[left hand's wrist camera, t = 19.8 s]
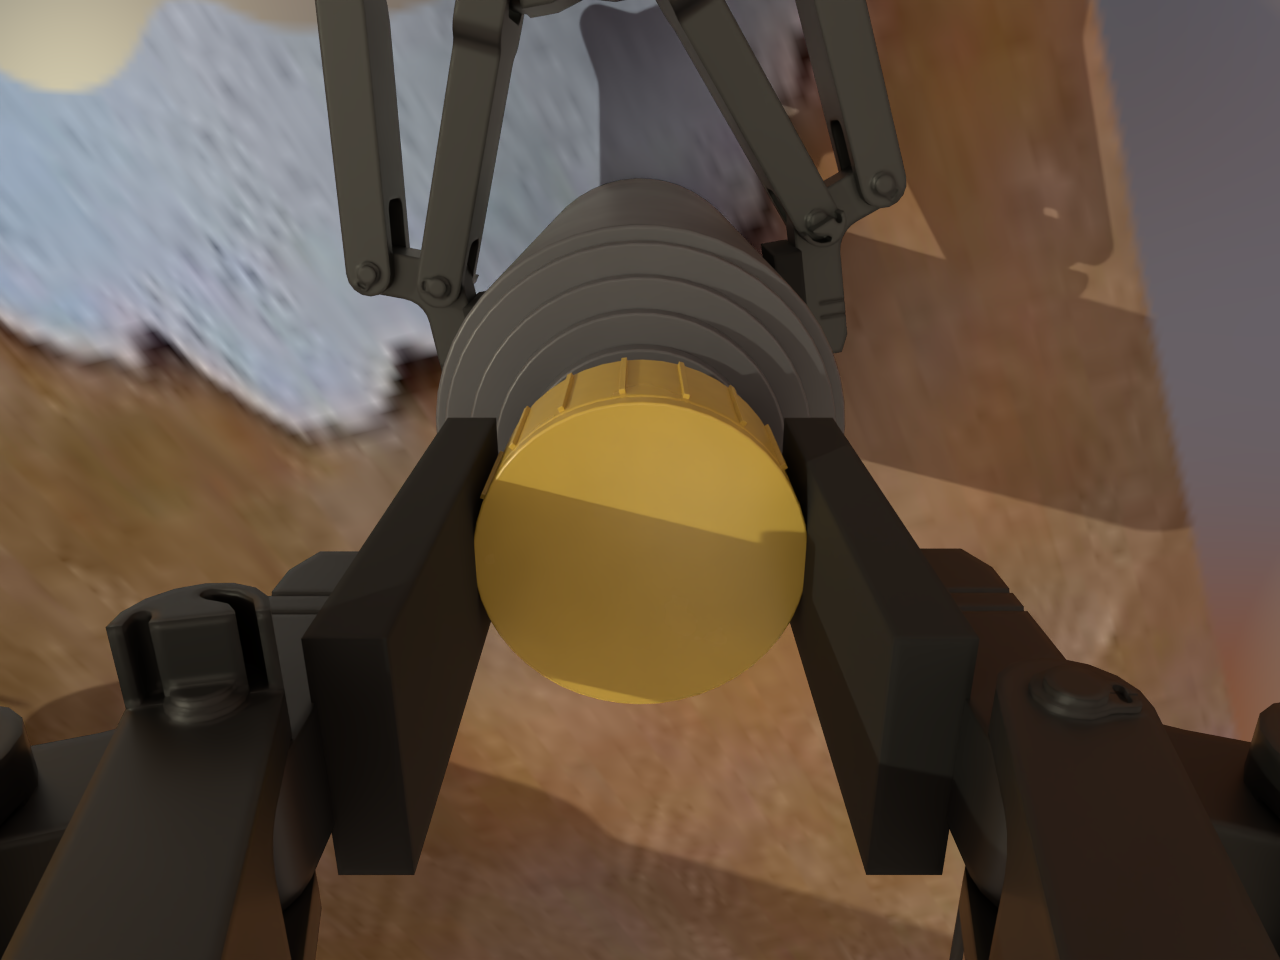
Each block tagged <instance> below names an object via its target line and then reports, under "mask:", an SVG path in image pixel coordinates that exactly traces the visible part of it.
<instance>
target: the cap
mask: <svg viewBox="0 0 1280 960" xmlns="http://www.w3.org/2000/svg"><path fill="white" fill-rule="evenodd" d="M787 468H788V467H787V465H786V462H785V460H784V458H783V455H782V453H781V451H780V449H779V446H778V444H777V442H776V439H775V437H774V435H773V433H772V430H771V428H770V426H769V425H768V424H767V425H765V426H764V424H763V423H762V421H761V420H760V418H759V417H758V416H757V414H756V413H755V412H754V411H753V410H752V408H751V407H750V406H749V405H748V404H747V403H746V402H745V401H744V400H743V399H742V398H741V397H740V396H738V395H737V393H736V391H735V388H734V387H733V386H731V385H730V386H729V387H727V386H725V385H724V384H722V383H721V382H719V381H718V380H716V379H714V378H712V377H710V376H708V375H706V374H704V373H702V372H700V371H697V370H694V369H691V368H689V367H686V366H685V365H684V363H683V362H679V363H678V364H674V363H669V362H664V361H655V360H627V357H626V358H621V361H618V362H612V363H607V364H602V365H599V366H596V367H593V368H590V369H587V370H584V371H582V372H579V373H577V374H575V375H573V374H572V373H570V374H568V375H567V377H566V379H565V380H564V381H562V382H561V383H559V384H557V385H556V386H554V387H553V388H551V389H550V390H549V391H548V392H546V393H545V394H544V395H543V396H542V397H541V398H539V399H538V400H537V401H536V402H535V403H534V404H533V405H532V406H531V408H530V407H529V406H526V408H525V409H524V411H523V413H522V416H521V418H520V421H519V423H518V425H517V426H516V428H515V429H514V431H513V433H512V435H511V437H510V439H509V441H508V443H507V445H506V447H505V450H504V452H502V451H500V452H499V454H498V457H497V459H496V461H495V463H494V466H493V468H492V470H491V473H490V475H489V477H488V480H487V482H486V484H485V486H484V489H483V491H482V493H481V496H480V498H481V499H483V502H482V505H481V508H480V511H479V515H478V518H477V521H476V527H475V533H474V548H475V562H476V575H477V587H478V591H479V594H480V598H481V601H482V603H483V605H484V608H485V610H486V612H487V614H488V616H489V618H490V620H491V622H492V623H493V625H494V627H495V628H496V630H497V631H498V633H499V635H500V636H501V637H502V638H503V640H504V641H505V642H506V643H507V645H508V646H509V647H510V648H511V649H512V651H513V652H515V653H516V654H517V655H518V656H519V657H520V658H521V659H522V660H523V661H524V662H525V663H526V664H527V665H529V666H530V667H531V668H533V669H534V670H536V671H537V672H538V673H540V674H541V675H542V676H544V677H546V678H547V679H549V680H551V681H553V682H555V683H556V684H558V685H560V686H562V687H564V688H567V689H569V690H572V691H574V692H576V693H579V694H582V695H585V696H589V697H592V698H595V699H599V700H605V701H611V702H616V703H628V704H655V703H664V702H671V701H677V700H682V699H685V698H689V697H693V696H696V695H700V694H702V693H705V692H707V691H710V690H712V689H715V688H717V687H719V686H721V685H723V684H725V683H727V682H729V681H730V680H732V679H734V678H736V677H737V676H739V675H740V674H742V673H743V672H744V671H746V670H747V669H749V668H750V667H751V666H753V665H754V664H755V663H756V662H757V661H758V660H759V659H760V658H762V657H763V656H764V655H765V654H766V653H767V652H768V651H769V650H770V648H771V647H772V646H773V645H774V644H775V643H776V641H777V640H778V639H779V638H780V636H781V635H782V633H783V632H784V630H785V629H786V627H787V626H788V624H789V623H790V621H791V619H792V617H793V615H794V613H795V611H796V608H797V606H798V604H799V602H800V599H801V595H802V592H803V583H804V570H805V556H806V542H807V530H806V524H805V520H804V517H803V513H802V510H801V506H800V503H799V501H798V499H797V497H796V494H795V492H794V489H793V487H792V485H791V482H790V480H789V478H788V475H787V473H786V471H785V469H787Z"/></svg>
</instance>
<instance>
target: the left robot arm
mask: <svg viewBox="0 0 1280 960" xmlns="http://www.w3.org/2000/svg"><path fill="white" fill-rule="evenodd" d="M782 455H783V458H784V460H785V462H786V465H787V467H788V468H787V469H785V471H786V473H787V475H788V478H789V480H790V482H791V485H792V487H793V489H794V492H795V494H796V497H797V499H798V501H799V503H800V506H801V510H802V513H803V517H804V520H805V524H806V530H807V542H806V556H805V570H804V583H803V592H802V595H801V599H800V602H799V604H798V606H797V608H796V611H795V613H794V615H793V617H792V619H791V621H790V624H791V628H792V631H793V634H794V637H795V641H796V644H797V647H798V651H799V654H800V657H801V661H802V664H803V667H804V671H805V674H806V677H807V680H808V684H809V687H810V690H811V694H812V697H813V700H814V704H815V707H816V710H817V713H818V717H819V720H820V723H821V727H822V730H823V733H824V737H825V740H826V743H827V747H828V750H829V753H830V756H831V760H832V763H833V766H834V770H835V773H836V776H837V780H838V783H839V786H840V789H841V793H842V796H843V799H844V803H845V806H846V809H847V813H848V816H849V819H850V823H851V826H852V829H853V832H854V836H855V839H856V842H857V846H858V849H859V852H860V856H861V859H862V862H863V866H864V869H865V872H866V875H942V872H943V866H944V859H945V853H946V847H947V841H948V834H949V829H950V831H951V834H952V836H953V838H954V840H955V843H956V845H957V847H958V849H959V852H960V854H961V856H962V858H963V861H964V863H965V871H964V877H963V882H962V888H961V894H960V900H959V906H958V912H957V918H956V923H955V929H954V935H953V941H952V947H951V953H950V960H962V959H963V953H964V955H965V960H1280V703H1274V704H1272V705H1271V706H1270V707H1268V708H1267V709H1265V710H1264V711H1263V712H1261V713H1260V715H1259V718H1258V722H1257V725H1256V728H1255V732H1254V735H1253V738H1252V741H1251V742H1246V741H1241V740H1236V739H1230V738H1225V737H1220V736H1215V735H1209V734H1204V733H1199V732H1193V731H1188V730H1183V729H1179V728H1175V727H1171V726H1167V725H1163V724H1162V722H1161V720H1160V718H1159V716H1158V714H1157V712H1156V710H1155V708H1154V707H1153V706H1152V705H1151V703H1150V702H1149V701H1148V700H1147V699H1146V697H1145V696H1144V695H1143V694H1142V693H1141V691H1140V690H1138V689H1137V688H1135V687H1133V686H1132V685H1130V684H1129V683H1127V682H1126V681H1124V680H1123V679H1121V678H1120V677H1118V676H1116V675H1114V674H1111V673H1109V672H1106V671H1104V670H1101V669H1099V668H1096V667H1094V666H1091V665H1088V664H1084V663H1079V662H1074V661H1069V660H1066V659H1065V658H1064V656H1063V655H1062V654H1061V653H1060V651H1059V650H1058V649H1057V648H1056V646H1055V645H1054V644H1053V643H1052V641H1051V640H1050V639H1049V638H1048V636H1047V635H1046V634H1045V633H1044V631H1043V630H1042V629H1041V628H1040V626H1039V625H1038V624H1037V623H1036V621H1035V620H1034V619H1033V618H1032V616H1031V615H1030V614H1029V613H1028V611H1024V606H1023V605H1022V604H1021V603H1020V601H1019V600H1018V599H1017V598H1016V596H1015V595H1014V594H1013V593H1009V588H1008V586H1007V585H1006V584H1005V583H1004V581H1003V580H1002V579H1001V578H1000V576H999V575H998V574H997V573H996V572H995V570H994V569H993V568H992V567H991V566H989V565H988V564H986V563H984V562H982V561H981V560H979V559H977V558H976V557H974V556H972V555H971V554H969V553H967V552H966V551H964V550H962V549H920V548H919V547H918V545H917V544H916V542H915V541H914V539H913V538H912V536H911V535H910V533H909V532H908V530H907V529H906V527H905V526H904V524H903V523H902V521H901V520H900V518H899V517H898V515H897V514H896V512H895V511H894V509H893V508H892V506H891V505H890V503H889V502H888V500H887V499H886V497H885V496H884V494H883V493H882V491H881V490H880V488H879V487H878V485H877V484H876V482H875V481H874V479H873V478H872V476H871V475H870V473H869V472H868V470H867V469H866V467H865V466H864V464H863V463H862V461H861V460H860V458H859V457H858V455H857V454H856V452H855V451H854V449H853V448H852V446H851V445H850V443H849V442H848V440H847V439H846V437H845V435H844V434H843V432H842V431H841V429H840V428H839V426H838V425H837V423H836V422H835V420H834V419H833V418H784V432H783V449H782ZM497 457H498V440H497V423H496V418H447V420H446V421H445V423H444V424H443V426H442V427H441V429H440V430H439V432H438V433H437V435H436V436H435V438H434V439H433V441H432V442H431V444H430V445H429V447H428V448H427V450H426V451H425V453H424V454H423V456H422V457H421V459H420V460H419V462H418V463H417V465H416V466H415V468H414V469H413V471H412V472H411V474H410V475H409V477H408V478H407V480H406V481H405V483H404V484H403V486H402V487H401V489H400V490H399V492H398V493H397V495H396V496H395V498H394V500H393V501H392V503H391V504H390V506H389V507H388V509H387V510H386V512H385V513H384V515H383V516H382V518H381V519H380V521H379V522H378V524H377V525H376V527H375V528H374V530H373V531H372V533H371V534H370V536H369V537H368V539H367V540H366V542H365V543H364V545H363V546H362V548H361V549H360V551H359V552H319V553H317V554H315V555H314V556H312V557H310V558H309V559H307V560H305V561H304V562H302V563H300V564H299V565H297V566H295V567H294V568H292V569H290V570H289V571H288V572H287V573H286V575H285V576H284V577H283V578H282V580H281V581H280V582H279V583H278V585H277V586H276V587H275V588H274V590H273V591H272V596H267V595H265V594H264V593H263V592H261V591H260V590H258V589H257V588H255V587H250V586H245V585H241V584H236V583H206V584H200V585H194V586H189V587H183V588H177V589H173V590H170V591H167V592H164V593H161V594H158V595H156V596H153V597H150V598H147V599H144V600H143V601H141V602H139V603H137V604H135V605H133V606H132V607H130V608H128V609H126V610H124V611H122V612H121V613H120V614H119V615H118V616H117V617H116V618H115V619H114V620H113V621H112V622H111V623H110V624H109V625H108V626H107V627H106V631H107V635H108V639H109V643H110V647H111V651H112V655H113V659H114V663H115V667H116V671H117V675H118V679H119V683H120V687H121V691H122V695H123V699H124V703H125V707H126V710H125V712H124V714H123V716H122V718H121V720H120V722H119V724H118V726H117V728H116V729H114V730H110V731H106V732H102V733H98V734H93V735H87V736H82V737H77V738H71V739H66V740H61V741H56V742H50V743H45V744H40V745H35V746H30V742H29V739H28V736H27V732H26V729H25V726H24V722H23V719H22V717H20V716H19V715H18V714H16V713H15V712H14V711H12V710H11V709H10V708H7V707H1V706H0V960H315V957H316V949H317V941H318V932H319V924H320V916H321V901H320V895H319V888H318V882H317V877H316V871H315V869H316V867H317V864H318V862H319V860H320V858H321V855H322V853H323V851H324V849H325V846H326V844H327V842H328V839H329V837H330V835H331V833H332V837H333V843H334V849H335V856H336V862H337V868H338V875H414V874H415V871H416V867H417V864H418V861H419V857H420V854H421V851H422V848H423V844H424V841H425V838H426V834H427V831H428V828H429V824H430V821H431V818H432V814H433V811H434V808H435V805H436V801H437V798H438V795H439V791H440V788H441V785H442V781H443V778H444V775H445V771H446V768H447V765H448V762H449V758H450V755H451V752H452V748H453V745H454V742H455V738H456V735H457V732H458V728H459V725H460V722H461V719H462V715H463V712H464V709H465V705H466V702H467V699H468V695H469V692H470V689H471V685H472V682H473V679H474V676H475V672H476V669H477V666H478V662H479V659H480V656H481V652H482V649H483V646H484V642H485V639H486V636H487V633H488V629H489V626H490V623H491V620H490V618H489V616H488V614H487V612H486V610H485V608H484V605H483V603H482V601H481V598H480V594H479V591H478V587H477V575H476V562H475V548H474V533H475V527H476V521H477V518H478V515H479V511H480V508H481V505H482V502H483V499H481V498H480V496H481V493H482V491H483V489H484V486H485V484H486V482H487V480H488V477H489V475H490V473H491V470H492V468H493V466H494V463H495V461H496V459H497Z"/></svg>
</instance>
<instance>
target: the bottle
mask: <svg viewBox="0 0 1280 960" xmlns="http://www.w3.org/2000/svg"><path fill="white" fill-rule="evenodd" d="M626 357H627V360H655V361H664V362H669V363H674V364H678V363H679V362H683V363H684V365H685V366H686V367H689V368H691V369H694V370H697V371H700V372H702V373H704V374H706V375H708V376H710V377H712V378H714V379H716V380H718V381H719V382H721V383H722V384H724V385H725V386H727V387H729V386H730V385H731V386H733V387H734V388H735V391H736V393H737V395H738V396H740V397H741V398H742V399H743V400H744V401H745V402H746V403H747V404H748V405H749V406H750V407H751V408H752V410H753V411H754V412H755V413H756V414H757V416H758V417H759V418H760V420H761V421H762V423H763V424H764V426H765V425H767V424H768V425H769V426H770V428H771V430H772V433H773V435H774V437H775V439H776V442H777V444H778V446H779V449H780V451H781V453H782V449H783V432H784V418H833V419H834V420H835V422H836V423H837V425H838V426H839V428H840V429H841V431H842V432H843V434H844V430H845V413H844V397H843V391H842V385H841V379H840V374H839V371H838V368H837V365H836V361H835V358H834V355H833V352H832V349H831V347H830V345H829V343H828V341H827V339H826V337H825V334H824V332H823V330H822V328H821V326H820V325H819V323H818V322H817V320H816V319H815V317H814V316H813V314H812V313H811V311H810V310H809V308H808V306H807V305H806V304H805V302H804V301H803V300H802V299H801V298H800V297H799V296H798V294H797V293H796V292H795V291H794V290H793V289H792V288H791V287H790V285H789V284H788V283H787V282H786V281H785V280H784V279H783V278H782V277H781V276H780V275H779V274H778V273H777V272H776V271H775V270H774V269H773V267H772V266H771V265H770V264H769V263H768V262H767V261H766V260H765V259H764V258H763V257H762V256H761V255H760V254H759V253H758V252H757V251H756V250H755V249H754V248H753V247H752V246H751V245H750V243H749V242H748V241H747V240H746V239H745V238H744V237H743V236H742V235H741V234H740V233H739V232H738V231H737V230H736V229H735V228H734V227H733V226H732V225H731V224H730V223H729V222H728V221H727V219H726V218H725V217H724V216H723V215H722V214H721V213H720V212H719V211H718V210H717V209H716V208H715V207H713V206H712V205H711V204H710V203H709V202H708V201H706V200H705V199H703V198H702V197H700V196H699V195H697V194H696V193H694V192H692V191H690V190H688V189H686V188H684V187H682V186H679V185H676V184H673V183H670V182H666V181H661V180H655V179H641V178H634V179H625V180H619V181H615V182H611V183H607V184H604V185H602V186H599V187H597V188H594V189H592V190H590V191H588V192H587V193H585V194H583V195H581V196H580V197H578V198H577V199H576V200H574V201H573V202H572V203H571V204H569V205H568V206H567V207H566V208H565V209H564V210H563V211H562V212H561V213H560V214H559V215H558V216H557V217H556V218H555V219H554V220H553V221H552V222H551V223H550V224H549V225H548V226H547V228H546V229H545V230H544V231H543V232H542V233H541V234H540V235H539V236H538V237H537V238H536V239H535V240H534V241H533V242H532V243H531V244H530V245H529V247H528V248H527V249H526V250H525V251H524V252H523V253H522V254H521V255H520V256H519V257H518V258H517V259H516V260H515V261H514V262H513V263H512V264H511V265H510V267H509V268H508V269H507V270H506V271H505V272H504V273H503V274H502V275H501V276H500V277H499V278H498V279H497V280H496V281H495V282H494V283H493V284H492V286H491V287H490V288H489V289H488V290H487V291H486V292H485V293H484V294H483V295H482V296H481V297H480V299H479V300H478V302H477V303H476V304H475V306H474V307H473V308H472V310H471V311H470V312H469V314H468V315H467V316H466V318H465V320H464V321H463V323H462V325H461V327H460V329H459V331H458V333H457V334H456V336H455V338H454V340H453V342H452V345H451V347H450V350H449V353H448V355H447V358H446V361H445V363H444V366H443V371H442V375H441V380H440V384H439V389H438V397H437V410H436V427H437V433H438V432H439V430H440V429H441V427H442V426H443V424H444V423H445V421H446V420H447V418H496V423H497V440H498V454H499V452H500V451H502V452H504V450H505V447H506V445H507V443H508V441H509V439H510V437H511V435H512V433H513V431H514V429H515V428H516V426H517V425H518V423H519V421H520V418H521V416H522V413H523V411H524V409H525V408H526V406H529V407H530V408H531V406H532V405H533V404H534V403H535V402H536V401H537V400H538V399H539V398H541V397H542V396H543V395H544V394H545V393H546V392H548V391H549V390H550V389H551V388H553V387H554V386H556V385H557V384H559V383H561V382H562V381H564V380H565V379H566V377H567V375H568V374H570V373H572V374H573V375H575V374H577V373H579V372H582V371H584V370H587V369H590V368H593V367H596V366H599V365H602V364H607V363H612V362H618V361H621V358H626Z"/></svg>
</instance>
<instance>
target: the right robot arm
mask: <svg viewBox="0 0 1280 960" xmlns="http://www.w3.org/2000/svg"><path fill="white" fill-rule="evenodd" d="M580 1H582V0H456V1H455V8H454V15H453V49H452V55H451V61H450V68H449V74H448V81H447V87H446V94H445V100H444V107H443V113H442V120H441V126H440V133H439V139H438V146H437V152H436V159H435V165H434V171H433V178H432V184H431V191H430V197H429V204H428V210H427V217H426V223H425V230H424V236H423V243H422V249H421V250H418V249H413V248H410V244H409V233H408V222H407V210H406V199H405V188H404V176H403V165H402V154H401V142H400V131H399V120H398V109H397V97H396V86H395V75H394V63H393V52H392V41H391V29H390V20H389V13H388V6H387V2H386V0H315V5H316V13H317V23H318V31H319V40H320V49H321V57H322V66H323V75H324V84H325V92H326V101H327V110H328V118H329V127H330V136H331V145H332V153H333V162H334V171H335V180H336V188H337V197H338V206H339V214H340V223H341V232H342V241H343V249H344V258H345V267H346V275H347V278H348V281H349V283H350V285H351V286H352V287H353V289H354V290H356V291H357V292H359V293H360V294H362V295H366V296H375V295H379V294H380V295H386V296H391V297H397V298H402V299H406V300H410V301H412V302H414V303H416V304H417V305H419V306H420V307H421V308H422V309H423V310H424V312H425V313H426V315H427V317H428V320H429V322H430V326H431V330H432V334H433V338H434V342H435V346H436V350H437V354H438V358H439V362H440V365H441V369H442V371H443V366H444V363H445V361H446V358H447V355H448V353H449V350H450V347H451V345H452V342H453V340H454V338H455V336H456V334H457V333H458V331H459V329H460V327H461V325H462V323H463V321H464V320H465V318H466V316H467V315H468V314H469V312H470V311H471V310H472V308H473V307H474V306H475V304H476V303H477V302H478V300H479V299H480V297H481V296H482V295H483V294H484V293H485V292H486V291H483V292H479V293H478V294H477V295H476V292H475V287H474V283H475V282H476V281H477V278H478V276H479V275H477V274H476V268H477V262H478V257H479V251H480V246H481V240H482V234H483V229H484V223H485V217H486V212H487V206H488V200H489V195H490V189H491V184H492V178H493V172H494V167H495V161H496V155H497V150H498V144H499V139H500V133H501V127H502V122H503V116H504V110H505V105H506V99H507V94H508V88H509V82H510V77H511V71H512V66H513V61H514V58H515V55H516V53H517V49H518V45H519V40H520V35H521V29H522V24H523V18H524V14H527V15H528V16H529V17H530V18H533V17H539V16H544V15H549V14H555V13H559V12H561V11H563V10H565V9H566V8H568V7H570V6H572V5H574V4H576V3H578V2H580ZM603 1H612V2H618V1H623V0H603ZM795 1H796V5H797V9H798V13H799V17H800V21H801V25H802V29H803V33H804V37H805V41H806V45H807V49H808V52H809V56H810V60H811V64H812V68H813V72H814V76H815V80H816V84H817V88H818V92H819V96H820V100H821V104H822V108H823V112H824V116H825V119H826V123H827V127H828V131H829V135H830V139H831V143H832V147H833V151H834V155H835V159H836V163H837V167H838V171H839V172H838V173H837V174H835V175H833V176H831V177H830V178H828V179H826V180H824V181H823V180H822V178H821V176H820V174H819V172H818V170H817V169H816V167H815V165H814V163H813V161H812V159H811V158H810V156H809V154H808V152H807V150H806V148H805V147H804V145H803V143H802V141H801V139H800V137H799V136H798V134H797V132H796V130H795V128H794V126H793V125H792V123H791V121H790V119H789V117H788V115H787V114H786V112H785V110H784V108H783V106H782V104H781V103H780V101H779V99H778V97H777V95H776V93H775V92H774V90H773V88H772V86H771V84H770V82H769V81H768V79H767V77H766V75H765V73H764V71H763V70H762V68H761V66H760V64H759V62H758V61H757V59H756V57H755V55H754V53H753V51H752V50H751V48H750V46H749V44H748V42H747V40H746V39H745V37H744V35H743V33H742V31H741V29H740V28H739V26H738V24H737V22H736V20H735V18H734V17H733V15H732V13H731V11H730V9H729V7H728V6H727V4H726V2H725V0H656V2H657V3H658V5H659V7H660V9H661V10H662V12H663V14H664V15H665V17H666V19H667V20H668V22H669V23H670V25H671V26H672V27H673V29H674V30H675V32H676V34H677V35H678V37H679V39H680V41H681V42H682V44H683V46H684V48H685V49H686V51H687V53H688V55H689V56H690V58H691V60H692V62H693V63H694V65H695V67H696V69H697V70H698V72H699V74H700V76H701V78H702V79H703V81H704V83H705V85H706V86H707V88H708V90H709V92H710V93H711V95H712V97H713V99H714V100H715V102H716V104H717V106H718V107H719V109H720V111H721V113H722V114H723V116H724V118H725V120H726V121H727V123H728V125H729V127H730V128H731V130H732V132H733V134H734V135H735V137H736V139H737V141H738V142H739V144H740V146H741V148H742V149H743V151H744V153H745V155H746V156H747V158H748V160H749V162H750V163H751V165H752V167H753V169H754V171H755V172H756V174H757V176H758V178H759V179H760V181H761V183H762V185H763V186H764V188H765V190H766V192H767V193H768V195H769V197H770V199H771V200H772V202H773V204H774V206H775V207H776V209H777V211H778V213H779V214H780V216H781V218H782V220H783V221H784V223H785V225H786V227H787V237H788V241H787V240H781V241H775V242H769V243H764V244H761V246H762V255H763V258H764V259H765V260H766V261H767V262H768V263H769V264H770V265H771V266H772V267H773V269H774V270H775V271H776V272H777V273H778V274H779V275H780V276H781V277H782V278H783V279H784V280H785V281H786V282H787V283H788V284H789V285H790V287H791V288H792V289H793V290H794V291H795V292H796V293H797V294H798V296H799V297H800V298H801V299H802V300H803V301H804V302H805V304H806V305H807V306H808V308H809V310H810V311H811V313H812V314H813V316H814V317H815V319H816V320H817V322H818V323H819V325H820V326H821V328H822V330H823V332H824V334H825V337H826V339H827V341H828V343H829V345H830V347H831V349H832V352H833V353H838V352H842V349H843V346H844V342H845V339H846V336H847V327H846V315H845V303H844V291H843V280H842V268H841V256H840V245H841V241H842V238H843V236H844V234H845V232H846V231H847V229H848V228H849V227H850V226H851V225H852V224H854V223H855V222H856V221H858V220H860V219H862V218H863V217H865V216H867V215H869V214H871V213H872V212H874V211H876V210H878V209H880V208H885V207H890V206H891V205H893V204H895V203H897V202H898V201H899V199H900V198H901V197H902V196H903V194H904V191H905V188H906V175H905V170H904V166H903V161H902V157H901V153H900V148H899V144H898V140H897V135H896V131H895V126H894V122H893V118H892V113H891V109H890V105H889V100H888V96H887V91H886V87H885V83H884V78H883V74H882V70H881V65H880V61H879V56H878V52H877V48H876V43H875V39H874V34H873V30H872V26H871V21H870V17H869V13H868V8H867V4H866V0H795Z"/></svg>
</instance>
